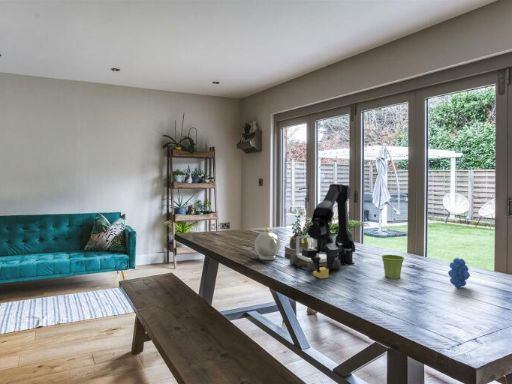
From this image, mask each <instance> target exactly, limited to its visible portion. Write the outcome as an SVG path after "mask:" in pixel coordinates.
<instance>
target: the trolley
mask: <svg viewBox="0 0 512 384" xmlns="http://www.w3.org/2000/svg"><path fill="white" fill-rule="evenodd" d="M310 238H311V237H310V236H309V234H308V235H297V236H295V254H291V255H290V257H289V258H290V259H289V261H290V264H291V265H292V266H297V265H298V264H299V262H300V259H301V260H303V261H306V262H307V263H306V268H307V271H308V272H309V273H312V274H313V271H316V268H315V266H314V263H313V262H312V260H311V258H307V257H304V256H302V252H300V239H310ZM311 239H312V238H311ZM315 247H317V240H315V239H313V250H317V249H315ZM319 257H320V258H321V259H320V261H319V264H321V263H327V258H326V254H319ZM341 266H342V264H341V263H340V260H339V259H338V257H337V258H335V260H334V262H333V264H332V267H331V269H332V270H340V269H341Z"/></svg>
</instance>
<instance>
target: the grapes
mask: <svg viewBox="0 0 512 384" xmlns="http://www.w3.org/2000/svg"><path fill="white" fill-rule="evenodd" d="M448 266H449V268H450V269H449V270H448V271H447V274H448V276H449V277H450V279H449V282H450V284H451V285H453V286H454V287H455V288H456V289H460V288H462V287H465V286H466V285H467V280H468V279H469V278H470V277H471V273H470V272H469V270H470V269H469V267H468V265H467V264H466V261H465V260H464V259H463V258H459V257H455V258H454V259H453V260H452V262H450V263H449V265H448Z"/></svg>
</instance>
